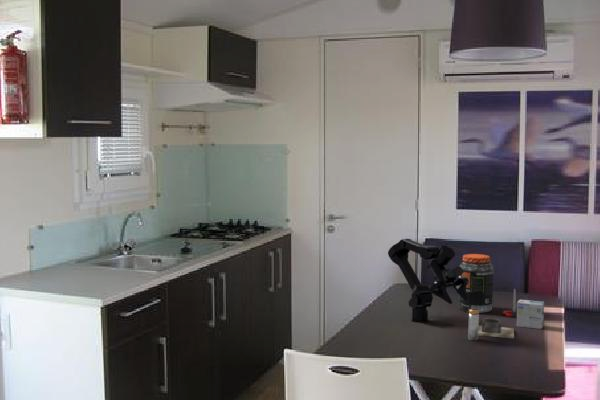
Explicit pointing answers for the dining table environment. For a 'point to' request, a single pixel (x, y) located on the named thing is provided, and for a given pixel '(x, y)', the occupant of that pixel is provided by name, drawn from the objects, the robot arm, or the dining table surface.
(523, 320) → the light bulb box
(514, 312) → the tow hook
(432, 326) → the dining table surface
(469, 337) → the pin
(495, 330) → the block
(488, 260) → the supplement tub
